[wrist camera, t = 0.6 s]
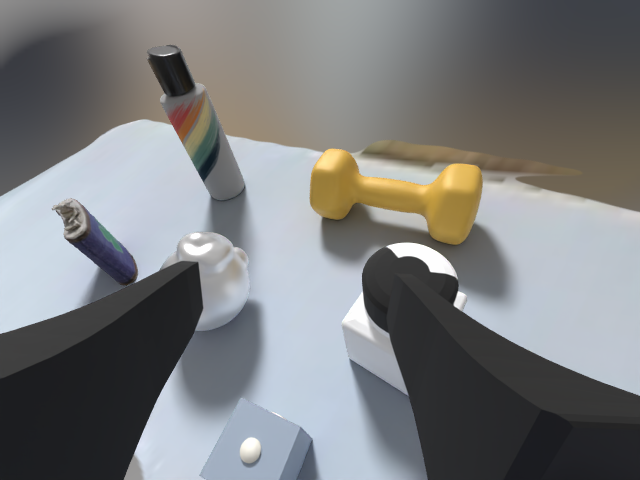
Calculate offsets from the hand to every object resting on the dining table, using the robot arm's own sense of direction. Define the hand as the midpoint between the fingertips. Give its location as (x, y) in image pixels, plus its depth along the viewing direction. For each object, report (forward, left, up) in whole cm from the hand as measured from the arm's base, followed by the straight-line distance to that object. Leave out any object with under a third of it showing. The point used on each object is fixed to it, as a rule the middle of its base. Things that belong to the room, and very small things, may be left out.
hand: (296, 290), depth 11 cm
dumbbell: (+23, -4, -19) cm, 30 cm away
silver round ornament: (+9, +14, -19) cm, 26 cm away
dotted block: (-4, +5, -19) cm, 20 cm away
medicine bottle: (+6, -5, -19) cm, 21 cm away
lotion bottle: (+29, +21, -19) cm, 41 cm away
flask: (+14, +31, -19) cm, 39 cm away
